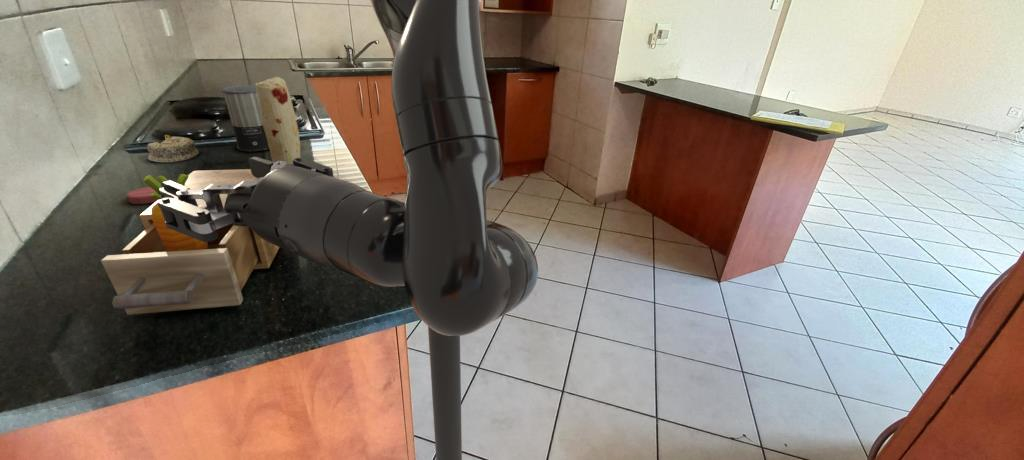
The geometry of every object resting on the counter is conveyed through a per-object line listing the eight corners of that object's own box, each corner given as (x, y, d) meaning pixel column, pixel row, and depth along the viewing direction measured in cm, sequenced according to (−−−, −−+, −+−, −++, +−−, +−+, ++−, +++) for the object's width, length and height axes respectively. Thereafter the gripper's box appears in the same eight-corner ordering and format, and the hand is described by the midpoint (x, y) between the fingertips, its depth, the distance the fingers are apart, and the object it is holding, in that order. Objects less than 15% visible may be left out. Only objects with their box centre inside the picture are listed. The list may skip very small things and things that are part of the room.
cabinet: (269, 268, 63) (253, 210, 58) (163, 275, 60) (138, 215, 55) (294, 218, 77) (283, 168, 72) (210, 222, 74) (193, 170, 70)
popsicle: (219, 187, 83) (122, 199, 77) (222, 195, 84) (126, 206, 78) (222, 178, 87) (129, 188, 81) (224, 185, 88) (133, 195, 82)
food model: (303, 174, 96) (285, 81, 86) (270, 176, 93) (248, 82, 84) (306, 160, 104) (289, 74, 94) (275, 162, 101) (255, 74, 92)
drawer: (226, 331, 50) (206, 276, 46) (101, 343, 47) (70, 286, 43) (273, 244, 67) (262, 199, 63) (184, 249, 65) (167, 203, 61)
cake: (209, 153, 106) (204, 132, 104) (176, 167, 98) (170, 144, 95) (172, 146, 107) (166, 125, 104) (136, 159, 98) (129, 137, 96)
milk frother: (241, 154, 105) (225, 92, 98) (226, 139, 115) (210, 82, 108) (301, 145, 114) (290, 87, 106) (282, 131, 124) (271, 78, 117)
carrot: (227, 267, 59) (194, 165, 52) (215, 288, 55) (177, 180, 48) (186, 271, 58) (146, 166, 51) (170, 292, 54) (125, 182, 47)
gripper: (375, 155, 41) (268, 127, 48) (228, 208, 30) (116, 162, 37) (382, 223, 45) (282, 188, 52) (254, 292, 34) (147, 237, 40)
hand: (213, 177), depth 44 cm, fingers open, 8 cm apart
